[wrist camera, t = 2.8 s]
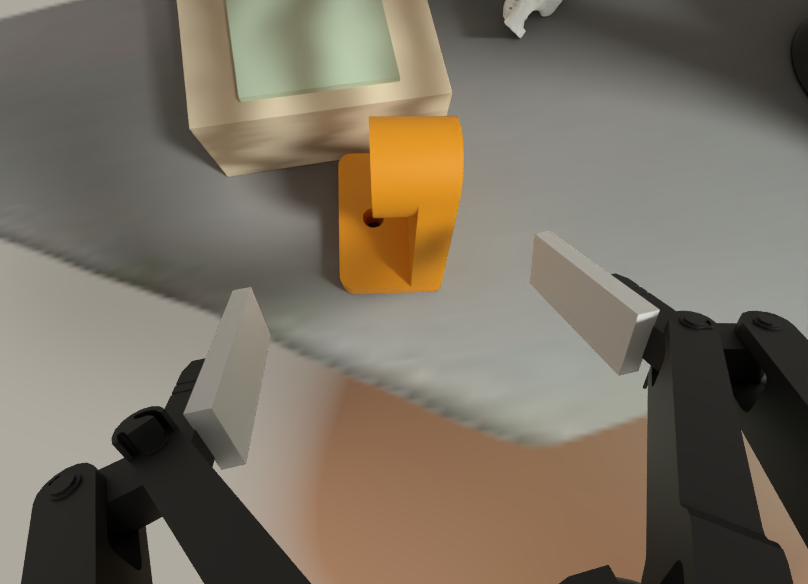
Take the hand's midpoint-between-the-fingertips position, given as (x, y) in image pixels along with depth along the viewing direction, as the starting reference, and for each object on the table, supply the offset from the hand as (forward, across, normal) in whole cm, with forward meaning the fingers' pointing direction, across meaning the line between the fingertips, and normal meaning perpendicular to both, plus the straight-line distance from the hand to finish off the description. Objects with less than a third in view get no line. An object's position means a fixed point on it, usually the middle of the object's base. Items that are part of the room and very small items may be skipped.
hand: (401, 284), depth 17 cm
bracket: (+13, +1, -3) cm, 14 cm away
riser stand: (+24, -2, +8) cm, 25 cm away
